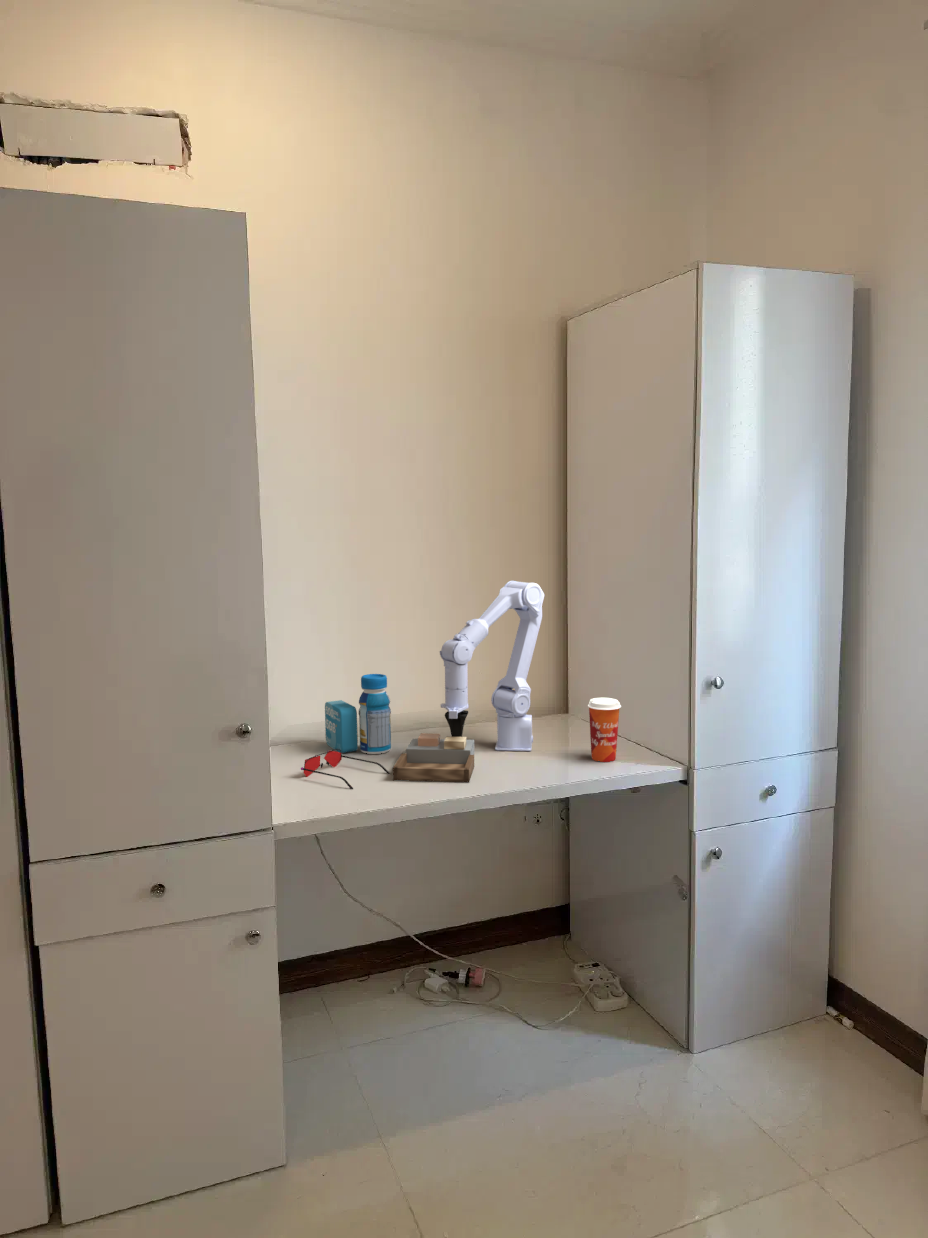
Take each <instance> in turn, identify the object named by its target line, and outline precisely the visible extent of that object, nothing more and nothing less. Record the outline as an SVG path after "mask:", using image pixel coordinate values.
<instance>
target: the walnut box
mask: <svg viewBox="0 0 928 1238" xmlns="http://www.w3.org/2000/svg"><path fill="white" fill-rule="evenodd" d="M474 769H475V754H474V755H469V757H468V760H467V763H466V764H438V763H407V753H406V752H405V753H403V752H402V753H401V754H400V755H399V757H398V759H397V760H396V761H395V763H394V765H393V767H392V781H394V780H409V782H438V783H439V782H440V783H442V782H444V783H446V782H447V783H470V782H471V778H472V774H473V772H474Z"/></svg>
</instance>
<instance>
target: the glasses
mask: <svg viewBox="0 0 928 1238" xmlns="http://www.w3.org/2000/svg"><path fill="white" fill-rule="evenodd" d="M336 750H340V749H331V750H330V749H329V750H327V751H325V752H322V753H320V754H315V755H314V756H311V757H309V758H306V759H304V764H303V765H304V766H302V767H300V770H301V771H303V772H302V773H303V774H304V776H305V777H306V778H307V777H309V776H311V775H312V774H313V773H316V774H321V775H325V776H329V777H334V778H338V779H341V780H342V781H343V782H344V783H345V784H346V785H347V786H348V788H349V789H350V790H354V788H353V786H352V785H351V784H350V783H349V782H348V781H347V780H346V779H345V778H344V777H343V776H339V775H335V774H330V773H326V772H323V771H318V768H320V769H322V768H323V767H324V763H323V762H321V755H324V754H325V755H324V757H323V759H324V760H325V761H326V763H325V764H326V765H327V766H331V767H332V768H335V767H337V766H338V765H339V764H340V762H341V761H342V758H345V759H351V760H356V761H360V762H364V763H365V762H366V763H369V764H370V763H371V764H374V765H378V766H379V768H381V769H382V770H383V771H384V772H385V773H386V774H387V775H391V772H390V771H389V770H388V769H386V768H385V767H384V766H383V765H382V764H381V763H379V762H376V761H371V760H367V759H363V758H362V759H361V758H357V757H351V756H349V755H348V756H346V755H343V753H342V752H341V750H340V752H341V753H340V752H338V751H336Z"/></svg>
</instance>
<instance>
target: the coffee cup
mask: <svg viewBox="0 0 928 1238" xmlns="http://www.w3.org/2000/svg"><path fill="white" fill-rule="evenodd" d="M587 707H588V711H589V712H588V714H589V736H590V750H591V752H590V753H591V754H590V755H591V759H592V761H595V762H598V761H600V762H599V763H610V761H612V762H614V761H616V759H617V758H616V757H617V747H618V732H619V722H620V721H619V720H620V719H619V718H620V708H622V705H621V703H620V701H619V700H618V699H616V698H611V697H594V698H590V699H589V702H588V704H587Z"/></svg>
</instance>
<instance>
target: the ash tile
mask: <svg viewBox="0 0 928 1238" xmlns="http://www.w3.org/2000/svg"><path fill="white" fill-rule="evenodd" d="M444 739H445V740H444V749H460V750H464V749H465V747H466V740H467V736H462V737H452V736H451V735H450V736H448V735H447V736H446V737H445V738H444Z"/></svg>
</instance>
